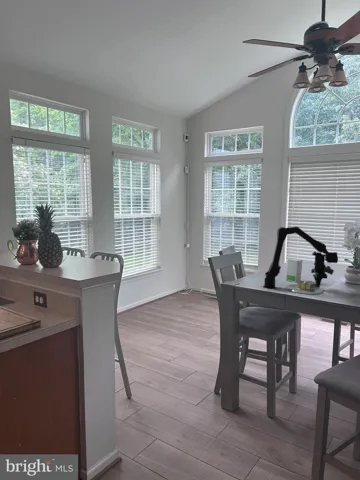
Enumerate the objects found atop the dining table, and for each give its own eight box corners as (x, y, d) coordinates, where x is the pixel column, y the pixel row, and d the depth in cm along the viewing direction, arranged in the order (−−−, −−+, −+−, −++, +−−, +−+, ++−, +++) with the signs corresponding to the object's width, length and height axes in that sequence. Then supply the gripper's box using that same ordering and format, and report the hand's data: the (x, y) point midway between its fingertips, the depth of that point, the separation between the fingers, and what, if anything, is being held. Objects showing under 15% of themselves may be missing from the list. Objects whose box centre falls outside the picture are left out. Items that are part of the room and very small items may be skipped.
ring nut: (302, 289, 220) (302, 284, 219) (294, 286, 227) (295, 281, 227) (323, 288, 223) (323, 283, 223) (315, 285, 231) (315, 280, 231)
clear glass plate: (305, 295, 210) (305, 288, 209) (278, 287, 229) (278, 281, 228) (330, 292, 220) (330, 285, 220) (302, 284, 239) (303, 278, 239)
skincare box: (285, 280, 252) (286, 258, 250) (291, 279, 256) (292, 258, 254) (296, 282, 245) (297, 260, 243) (301, 281, 249) (302, 259, 248)
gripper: (336, 265, 212) (335, 290, 214) (329, 260, 231) (328, 284, 232) (317, 264, 214) (316, 289, 216) (311, 260, 233) (310, 283, 234)
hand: (318, 286), depth 224 cm, fingers closed
